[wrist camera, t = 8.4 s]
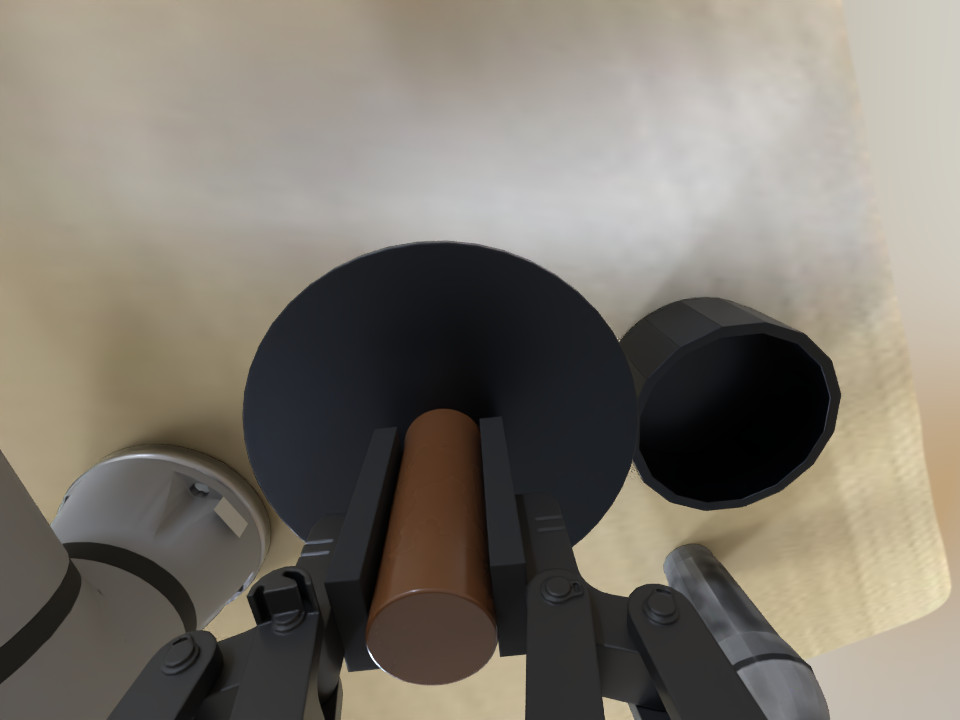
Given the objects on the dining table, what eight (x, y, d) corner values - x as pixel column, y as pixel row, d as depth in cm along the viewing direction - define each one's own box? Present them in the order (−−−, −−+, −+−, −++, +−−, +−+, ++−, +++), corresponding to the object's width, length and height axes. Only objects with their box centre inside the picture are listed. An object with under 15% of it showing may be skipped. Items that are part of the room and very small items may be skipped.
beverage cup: (743, 540, 43) (957, 823, 24) (707, 600, 46) (876, 899, 27) (668, 523, 42) (832, 805, 23) (635, 586, 45) (760, 885, 26)
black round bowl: (602, 465, 40) (627, 519, 34) (601, 307, 35) (631, 336, 29) (766, 449, 40) (821, 499, 34) (788, 287, 35) (857, 312, 29)
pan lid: (302, 586, 21) (197, 861, 13) (205, 260, 16) (-80, 361, 8) (626, 553, 21) (735, 807, 13) (633, 217, 16) (825, 271, 8)
